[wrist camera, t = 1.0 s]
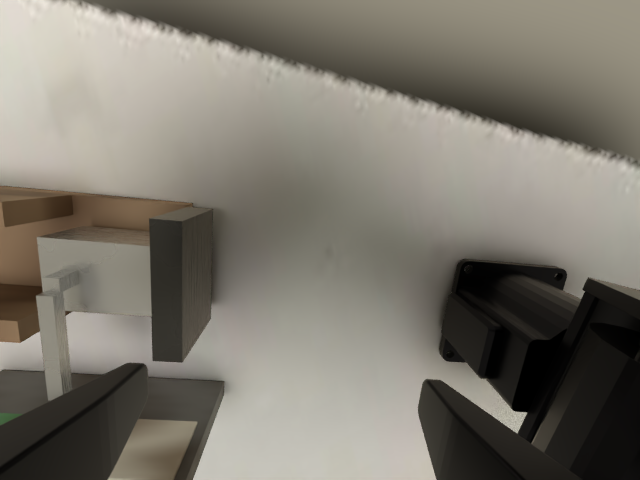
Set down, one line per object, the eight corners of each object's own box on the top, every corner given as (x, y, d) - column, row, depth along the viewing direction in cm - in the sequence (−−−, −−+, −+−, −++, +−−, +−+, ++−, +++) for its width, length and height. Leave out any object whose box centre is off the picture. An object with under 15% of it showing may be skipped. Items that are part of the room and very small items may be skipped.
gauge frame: (229, 206, 16) (141, 247, 7) (223, 395, 19) (152, 589, 10) (-70, 179, 15) (-582, 188, 6) (-33, 382, 18) (-361, 587, 9)
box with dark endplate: (213, 208, 15) (159, 230, 9) (209, 359, 17) (163, 450, 11) (82, 197, 14) (-53, 212, 9) (94, 352, 16) (-13, 444, 11)
